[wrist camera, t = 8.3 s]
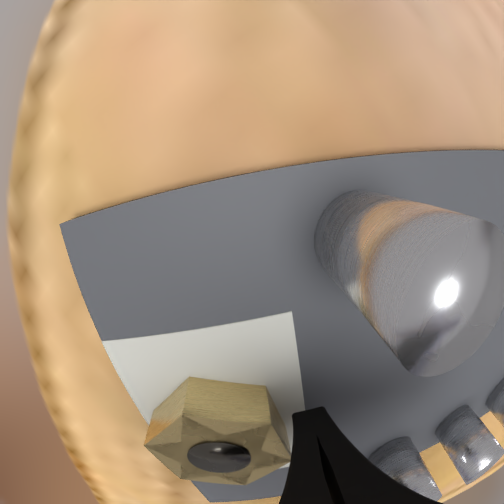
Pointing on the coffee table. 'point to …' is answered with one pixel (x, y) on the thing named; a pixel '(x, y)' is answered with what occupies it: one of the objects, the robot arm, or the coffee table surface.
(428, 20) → the coffee table surface
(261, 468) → the brass nut
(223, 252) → the board
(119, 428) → the coffee table surface
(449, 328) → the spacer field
